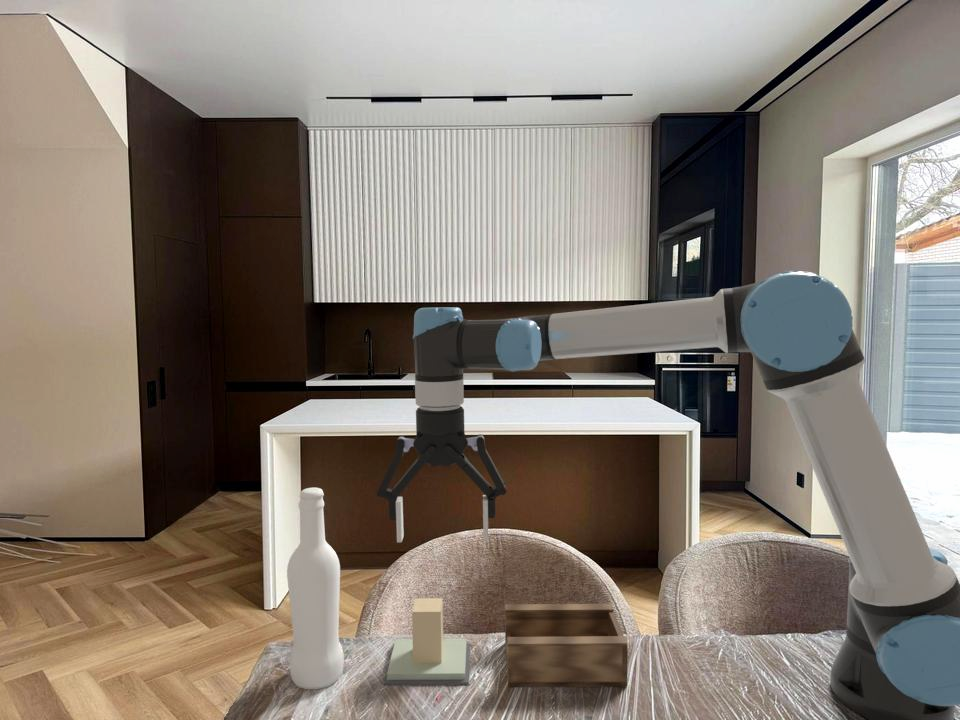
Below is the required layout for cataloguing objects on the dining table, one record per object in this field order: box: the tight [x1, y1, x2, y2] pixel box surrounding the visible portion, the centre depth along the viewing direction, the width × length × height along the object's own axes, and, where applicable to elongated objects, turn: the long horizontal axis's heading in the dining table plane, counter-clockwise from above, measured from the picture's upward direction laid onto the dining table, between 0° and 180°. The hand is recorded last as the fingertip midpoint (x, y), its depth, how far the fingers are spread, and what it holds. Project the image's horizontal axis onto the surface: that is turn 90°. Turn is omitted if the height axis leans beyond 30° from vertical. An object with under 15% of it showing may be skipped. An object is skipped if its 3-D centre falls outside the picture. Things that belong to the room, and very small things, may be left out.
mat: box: [383, 642, 471, 686], centre depth 102 cm, size 13×11×1 cm
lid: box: [386, 597, 468, 680], centre depth 102 cm, size 12×10×10 cm
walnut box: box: [504, 603, 629, 688], centre depth 102 cm, size 18×12×7 cm
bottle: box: [286, 487, 345, 690], centre depth 98 cm, size 8×8×30 cm
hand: (443, 538), depth 101 cm, fingers open, 13 cm apart
